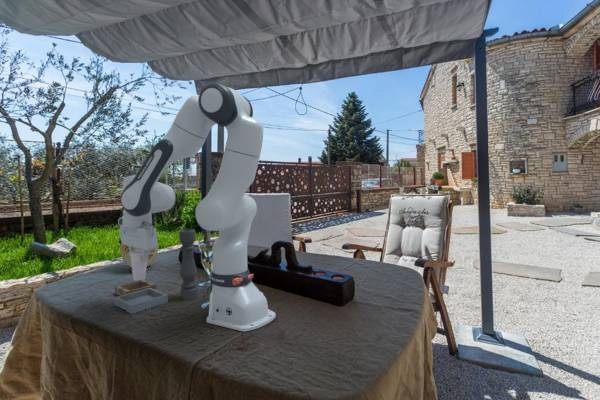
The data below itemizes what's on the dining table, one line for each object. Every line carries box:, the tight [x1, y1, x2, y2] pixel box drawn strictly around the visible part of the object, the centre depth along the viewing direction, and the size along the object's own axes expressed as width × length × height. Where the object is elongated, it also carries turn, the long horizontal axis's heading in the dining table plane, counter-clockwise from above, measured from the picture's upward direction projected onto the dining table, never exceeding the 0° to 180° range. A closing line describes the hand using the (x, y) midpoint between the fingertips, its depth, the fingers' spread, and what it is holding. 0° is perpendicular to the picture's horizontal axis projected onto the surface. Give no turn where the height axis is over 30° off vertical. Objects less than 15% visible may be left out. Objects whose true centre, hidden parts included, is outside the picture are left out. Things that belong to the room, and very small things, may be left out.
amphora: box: [118, 211, 159, 272], centre depth 157 cm, size 18×17×30 cm
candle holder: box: [178, 229, 199, 301], centre depth 119 cm, size 6×6×25 cm
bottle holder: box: [114, 279, 157, 296], centre depth 125 cm, size 11×11×3 cm
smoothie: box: [129, 249, 147, 281], centre depth 113 cm, size 6×6×14 cm
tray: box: [114, 288, 169, 315], centre depth 114 cm, size 13×13×3 cm
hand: (139, 259), depth 113 cm, fingers closed on smoothie, 6 cm apart
